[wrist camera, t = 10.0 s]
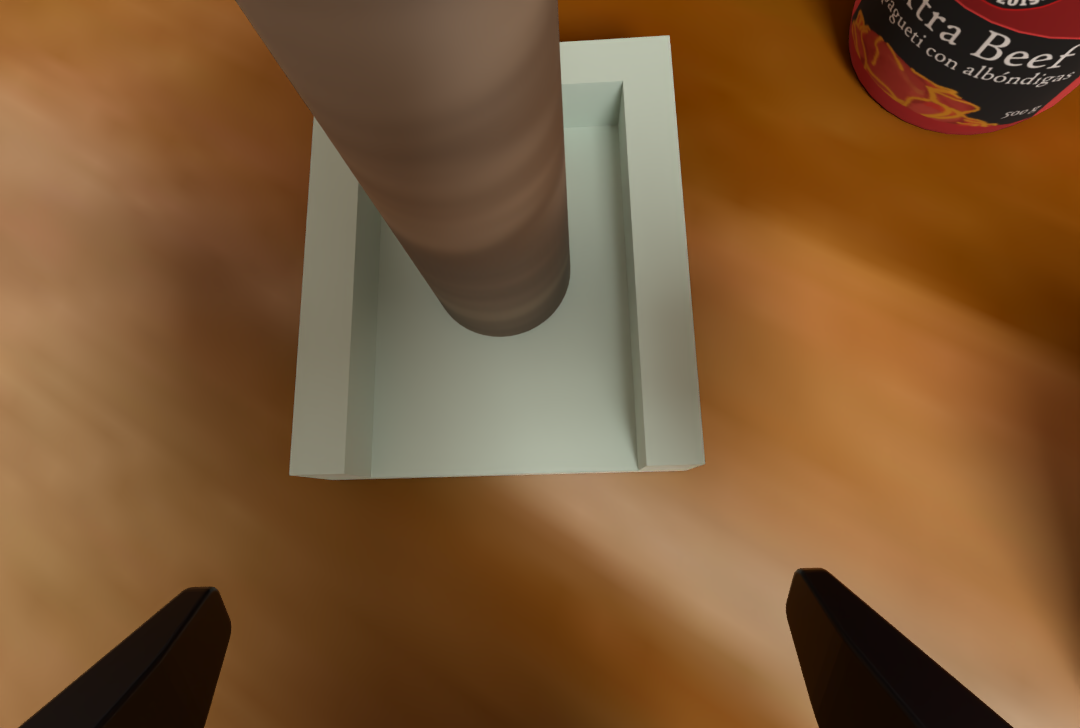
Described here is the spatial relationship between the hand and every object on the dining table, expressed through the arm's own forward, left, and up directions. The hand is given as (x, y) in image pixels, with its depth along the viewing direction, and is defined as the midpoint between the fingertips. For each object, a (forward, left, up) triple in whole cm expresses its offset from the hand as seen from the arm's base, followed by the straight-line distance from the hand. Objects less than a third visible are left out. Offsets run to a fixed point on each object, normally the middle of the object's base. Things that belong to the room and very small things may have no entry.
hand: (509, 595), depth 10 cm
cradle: (+9, +1, -9) cm, 13 cm away
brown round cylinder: (+9, +1, -8) cm, 12 cm away
